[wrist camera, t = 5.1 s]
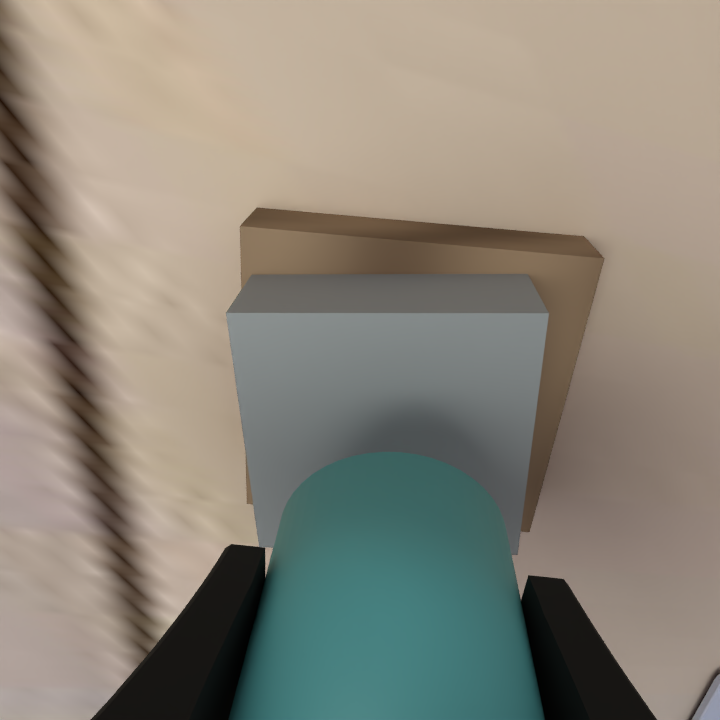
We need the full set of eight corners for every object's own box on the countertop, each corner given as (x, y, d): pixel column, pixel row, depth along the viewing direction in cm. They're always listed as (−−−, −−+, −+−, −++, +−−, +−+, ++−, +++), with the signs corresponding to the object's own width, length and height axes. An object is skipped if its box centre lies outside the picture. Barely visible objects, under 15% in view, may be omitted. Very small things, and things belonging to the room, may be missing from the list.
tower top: (527, 273, 15) (548, 313, 13) (503, 492, 18) (517, 554, 16) (251, 274, 15) (226, 312, 13) (276, 487, 19) (259, 547, 16)
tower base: (578, 230, 17) (604, 258, 15) (516, 481, 21) (529, 532, 19) (261, 202, 17) (239, 226, 15) (263, 456, 21) (246, 503, 19)
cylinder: (525, 461, 11) (605, 745, 7) (489, 629, 13) (531, 925, 9) (276, 442, 11) (191, 706, 7) (281, 610, 13) (219, 892, 9)
